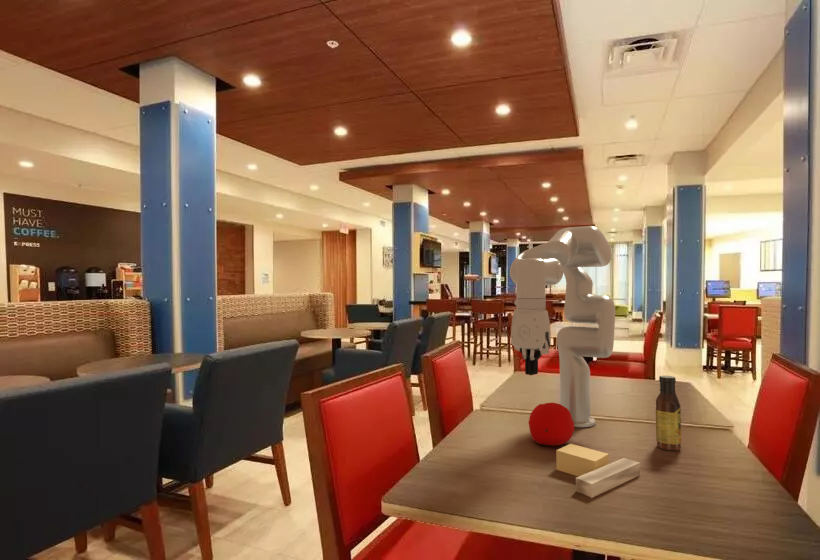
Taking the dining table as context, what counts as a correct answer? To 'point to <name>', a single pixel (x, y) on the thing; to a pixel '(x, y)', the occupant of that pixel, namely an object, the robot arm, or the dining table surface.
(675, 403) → the sauce bottle
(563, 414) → the tomato
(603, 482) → the pale grey bar
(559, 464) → the block
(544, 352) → the robot arm
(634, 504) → the dining table surface
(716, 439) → the dining table surface
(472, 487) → the dining table surface
